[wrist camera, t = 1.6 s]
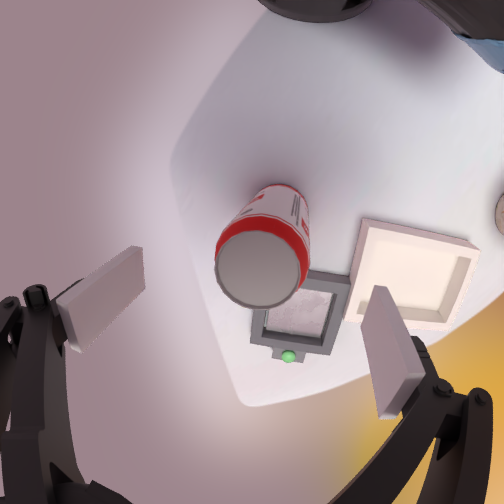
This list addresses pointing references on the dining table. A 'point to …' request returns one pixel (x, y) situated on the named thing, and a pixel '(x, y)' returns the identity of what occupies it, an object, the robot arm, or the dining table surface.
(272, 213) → the beer can
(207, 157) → the dining table surface
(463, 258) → the cream rectangular tray
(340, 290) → the frame
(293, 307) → the plate
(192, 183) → the dining table surface
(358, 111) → the dining table surface
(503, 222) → the mug
